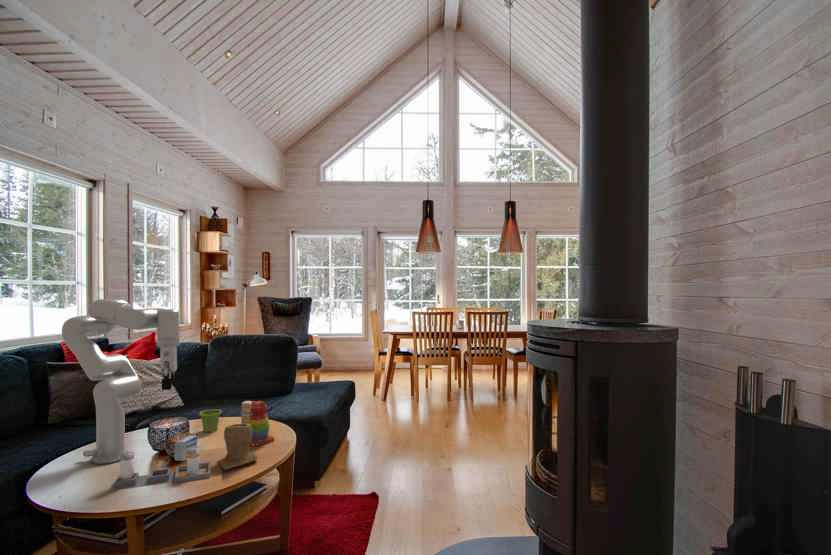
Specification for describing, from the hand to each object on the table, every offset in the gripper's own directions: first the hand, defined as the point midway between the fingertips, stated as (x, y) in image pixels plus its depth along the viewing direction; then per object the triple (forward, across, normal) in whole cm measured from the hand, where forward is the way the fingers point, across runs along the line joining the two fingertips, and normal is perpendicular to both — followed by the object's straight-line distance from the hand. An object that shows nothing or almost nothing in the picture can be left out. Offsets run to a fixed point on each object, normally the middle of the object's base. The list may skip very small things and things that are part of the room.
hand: (168, 386), depth 180 cm
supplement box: (+31, +35, -32) cm, 56 cm away
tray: (+30, -15, -10) cm, 35 cm away
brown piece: (+31, -7, -24) cm, 40 cm away
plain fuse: (+29, -15, +11) cm, 34 cm away
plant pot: (+31, +41, -14) cm, 53 cm away
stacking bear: (+31, +16, -34) cm, 48 cm away
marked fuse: (+30, -15, -10) cm, 35 cm away
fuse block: (+30, -15, +6) cm, 34 cm away
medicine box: (+31, +4, -6) cm, 31 cm away
